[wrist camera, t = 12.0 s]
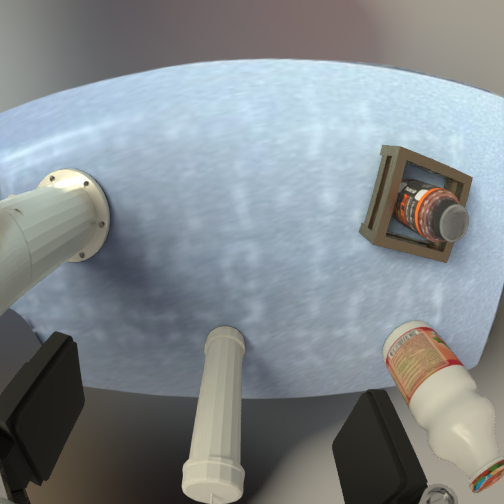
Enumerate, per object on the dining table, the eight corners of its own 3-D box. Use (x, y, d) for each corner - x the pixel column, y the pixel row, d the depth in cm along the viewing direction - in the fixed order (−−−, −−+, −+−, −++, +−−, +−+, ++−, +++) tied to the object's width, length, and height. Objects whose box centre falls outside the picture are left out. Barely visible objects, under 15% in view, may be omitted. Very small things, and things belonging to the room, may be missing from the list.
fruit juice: (386, 322, 43) (479, 472, 17) (437, 315, 43) (540, 438, 17) (375, 370, 47) (441, 514, 20) (424, 361, 47) (501, 485, 20)
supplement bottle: (381, 186, 37) (427, 203, 26) (420, 172, 36) (471, 185, 26) (393, 229, 39) (436, 259, 28) (429, 214, 38) (478, 239, 27)
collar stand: (358, 232, 39) (372, 244, 34) (382, 145, 35) (399, 146, 31) (432, 251, 40) (451, 264, 35) (455, 174, 36) (476, 179, 32)
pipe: (243, 322, 43) (240, 540, 15) (247, 358, 45) (249, 559, 17) (203, 325, 43) (162, 536, 15) (210, 360, 45) (184, 556, 17)
